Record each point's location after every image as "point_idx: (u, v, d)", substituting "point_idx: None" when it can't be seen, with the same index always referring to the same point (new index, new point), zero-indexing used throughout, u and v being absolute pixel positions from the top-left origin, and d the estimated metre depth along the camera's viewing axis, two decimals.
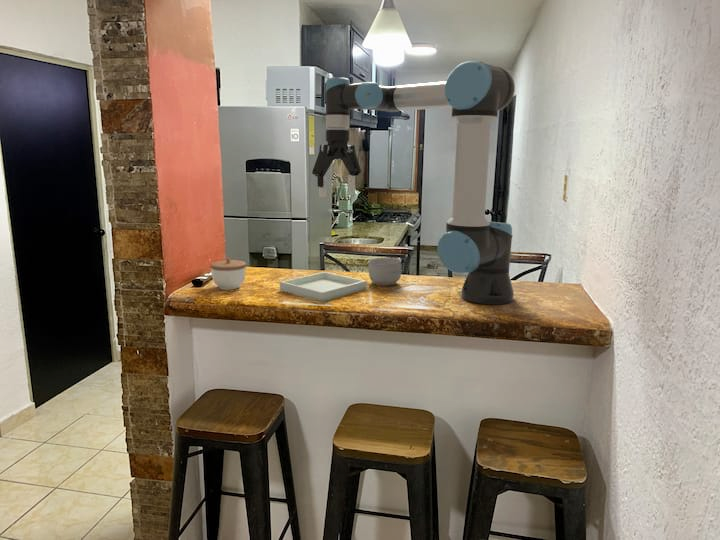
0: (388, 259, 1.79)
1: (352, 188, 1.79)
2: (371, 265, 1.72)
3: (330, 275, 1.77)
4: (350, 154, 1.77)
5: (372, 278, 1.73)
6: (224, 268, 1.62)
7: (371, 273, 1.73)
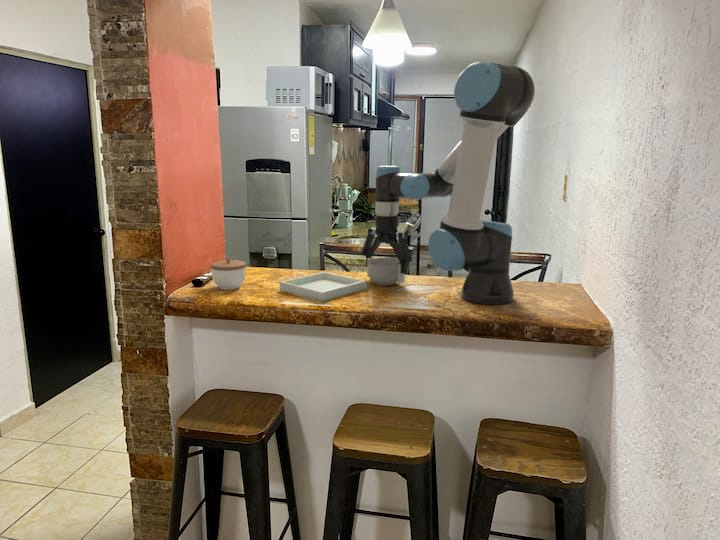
0: (388, 259, 1.79)
1: None
2: (371, 265, 1.72)
3: (330, 275, 1.77)
4: None
5: (372, 278, 1.73)
6: (224, 268, 1.62)
7: (371, 273, 1.73)
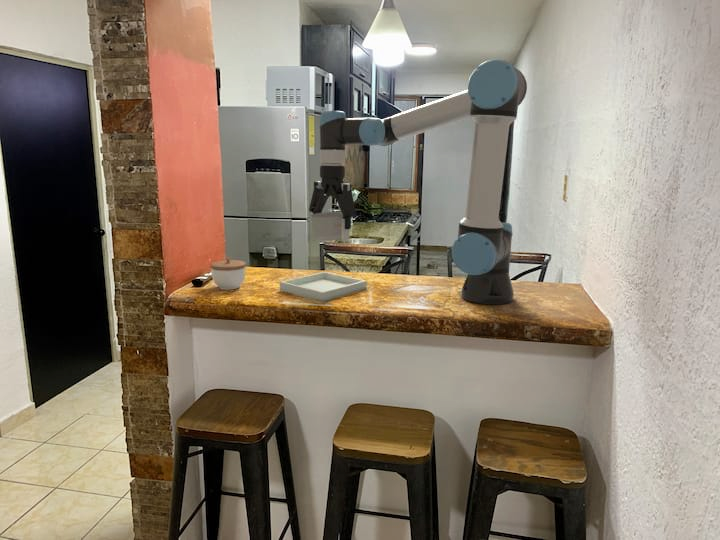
0: (334, 214, 1.67)
1: None
2: (313, 218, 1.60)
3: (330, 275, 1.77)
4: None
5: (314, 232, 1.61)
6: (224, 268, 1.62)
7: (313, 227, 1.61)
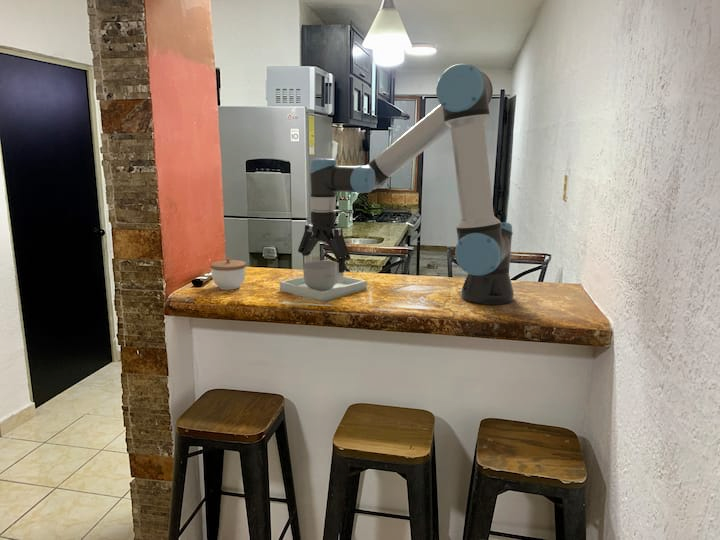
0: (326, 262, 1.69)
1: None
2: (305, 269, 1.62)
3: None
4: None
5: (306, 282, 1.63)
6: (224, 268, 1.62)
7: (305, 277, 1.62)
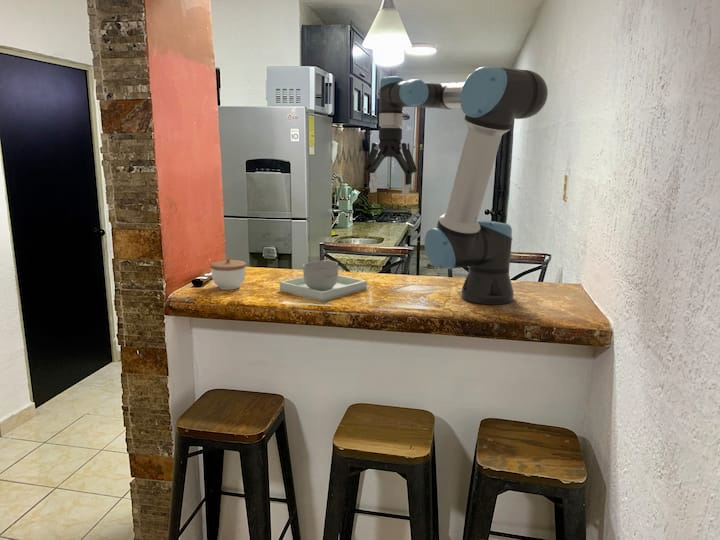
0: (326, 262, 1.69)
1: None
2: (305, 269, 1.62)
3: None
4: None
5: (306, 282, 1.63)
6: (224, 268, 1.62)
7: (305, 277, 1.62)
